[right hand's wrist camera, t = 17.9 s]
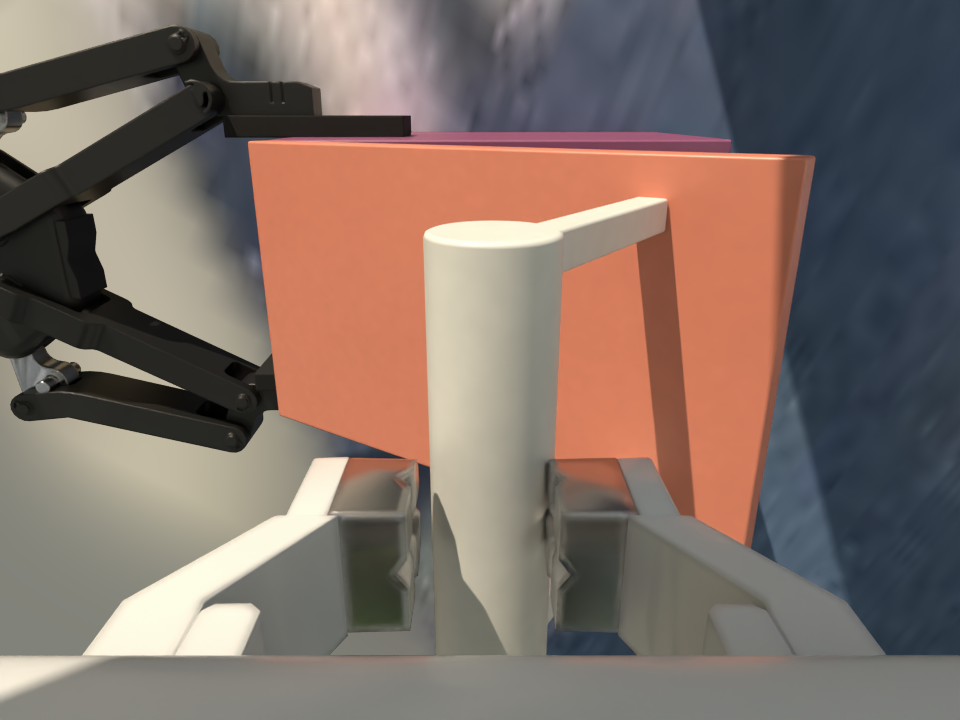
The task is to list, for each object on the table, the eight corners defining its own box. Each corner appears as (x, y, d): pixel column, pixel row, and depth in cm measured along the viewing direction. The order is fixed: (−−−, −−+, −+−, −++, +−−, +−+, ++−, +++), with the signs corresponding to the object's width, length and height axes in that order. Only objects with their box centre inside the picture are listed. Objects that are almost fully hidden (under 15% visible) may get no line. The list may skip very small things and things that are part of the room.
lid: (816, 155, 13) (684, 194, 7) (750, 553, 16) (618, 839, 10) (273, 140, 21) (-21, 150, 15) (300, 406, 24) (69, 509, 18)
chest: (654, 132, 31) (733, 139, 21) (638, 322, 34) (700, 404, 24) (333, 132, 31) (265, 140, 21) (347, 321, 34) (293, 404, 25)
